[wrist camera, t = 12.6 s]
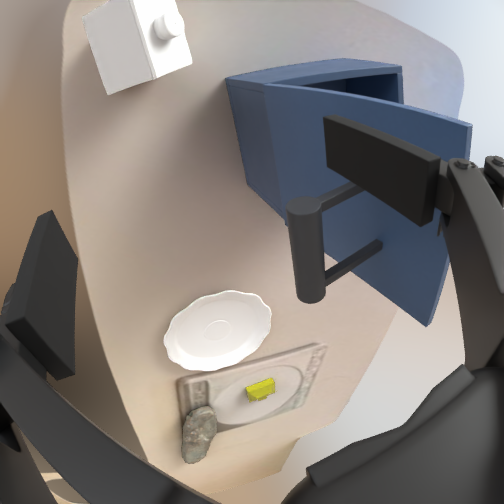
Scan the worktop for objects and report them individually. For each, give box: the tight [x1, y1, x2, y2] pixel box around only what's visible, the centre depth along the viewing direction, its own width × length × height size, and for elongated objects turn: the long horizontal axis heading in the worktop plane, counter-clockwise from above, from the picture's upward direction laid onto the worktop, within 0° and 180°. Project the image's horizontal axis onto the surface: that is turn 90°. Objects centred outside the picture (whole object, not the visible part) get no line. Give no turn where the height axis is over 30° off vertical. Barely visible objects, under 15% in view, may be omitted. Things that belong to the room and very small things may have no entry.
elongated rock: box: [182, 406, 217, 464], centre depth 79 cm, size 35×5×10 cm
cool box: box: [225, 58, 404, 219], centre depth 39 cm, size 19×16×12 cm
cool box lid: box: [262, 83, 472, 327], centre depth 24 cm, size 20×16×9 cm
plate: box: [164, 290, 272, 371], centre depth 60 cm, size 21×21×2 cm
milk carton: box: [82, 0, 192, 95], centre depth 23 cm, size 7×7×19 cm
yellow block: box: [246, 378, 277, 403], centre depth 77 cm, size 10×9×3 cm
